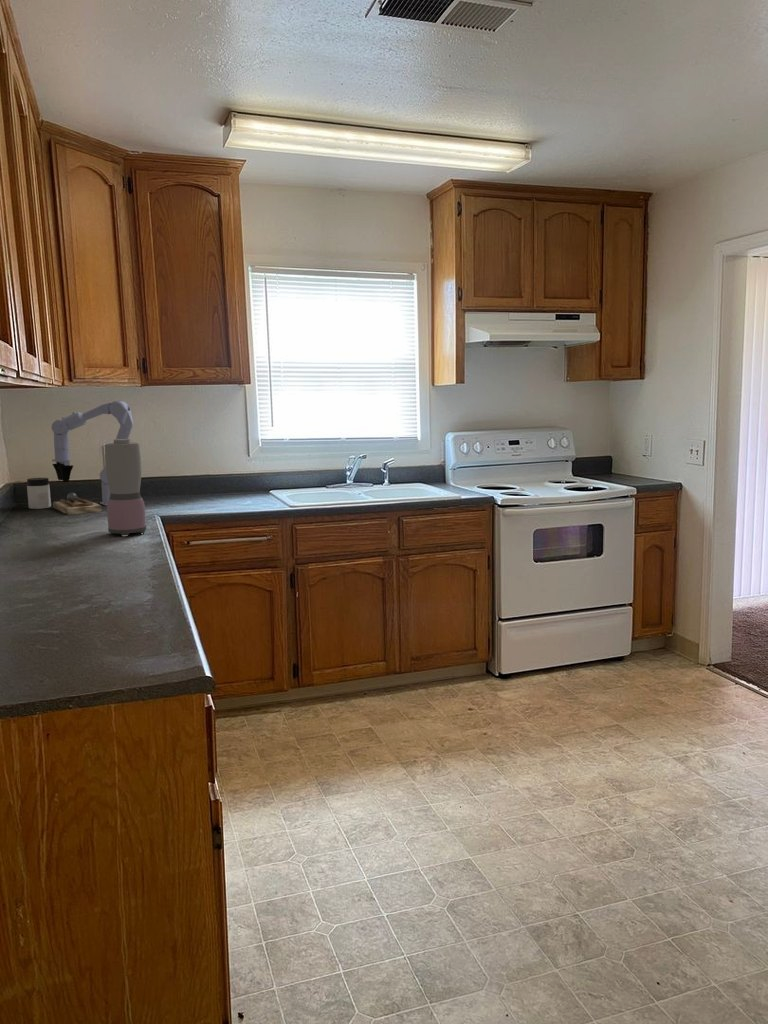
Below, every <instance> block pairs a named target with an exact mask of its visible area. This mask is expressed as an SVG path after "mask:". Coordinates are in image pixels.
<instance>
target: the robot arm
mask: <svg viewBox="0 0 768 1024" xmlns="http://www.w3.org/2000/svg"><path fill="white" fill-rule="evenodd" d="M102 415H111V416H112V417H114V418H115V419H116V420H117V422H118V423H119V426H120V427H119V429H118V431H117V435H116V438H115V439H130V436H131V434H132V432H133V428H134V424H135V423H134V422H135V421H134V419H133V416H132V409H131V407H130V406H129V404H128V403H127V402H126V401H124V400H113V401H112V402H107V403H104V404H101V405H99V406H97V407H95V408H93V409H90V410H87V411H85V412H83V413H82V412H80V411H77V412H76V411H74V412H72V414H70V415H68V416H66V417H65V416H63V417H61V419H56V420H55V421H54V422H53V423H52V424H51V430H52V432H53V445H54V447H53V448H54V459H51V460H52V462H55V463H52V466H53V468H54V470H55V473H56V476H57V480H58V481H62V482H63V483H69V482H70V479H71V473H72V470H73V468H74V465H72V464H71V459H70V458H71V455H70V439H69V431H73V430H76V429H78V428H80V427H83V426H85V424H86V423H87V421H88V420H91V419H94V418H97V417H99V416H102ZM99 479H100V481H101V497H102V498H101V499H102V500H101V501H100V502H99V505H102V506H107V504H108V501H109V498H110V489H109V485H108V481H107V476H106V466H105V465H104V468H103V469H101V471H100V472H99Z"/></svg>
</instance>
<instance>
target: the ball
mask: <svg viewBox="0 0 768 1024" xmlns="http://www.w3.org/2000/svg"><path fill="white" fill-rule="evenodd" d="M66 498H67V501H70V502H75V501H76V500H77V498H79V497H78V495H77V494H76V492H68V494H67V496H66Z"/></svg>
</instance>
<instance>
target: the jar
mask: <svg viewBox="0 0 768 1024" xmlns="http://www.w3.org/2000/svg"><path fill="white" fill-rule="evenodd" d="M26 483H27V484H26V485H27V486H26V491H27V492H26V493H27V500H28V502H27V504H28V509H34V510H40V509H49V508H51V507H52V502H51V501H52V500H51V499H52V498H51V489H50V482H49V478H48V477H33V478H32V477H30V478H28V479H26Z"/></svg>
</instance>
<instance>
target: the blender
mask: <svg viewBox="0 0 768 1024" xmlns="http://www.w3.org/2000/svg"><path fill="white" fill-rule="evenodd" d="M104 463H105V464H104V467H105V466H106V476H107V481H108V485H109V489H110V498H109V501H108V504H107V505H106V511H107V512H106V513H107V525H108V527H107V529H108V533H110V534H121V536H122V535H129V534H134V533H144V532H145V533H146V530H147V524H146V523H147V521H146V506H145V501H144V499H143V497H142V496H141V483H142V481H141V480H142V458H141V449H140V444H139V443H138V442H132V441H131V440H130V438H129V439H116V438H115V439H113V442H108V443H105V445H104ZM129 536H130V535H129Z"/></svg>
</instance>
